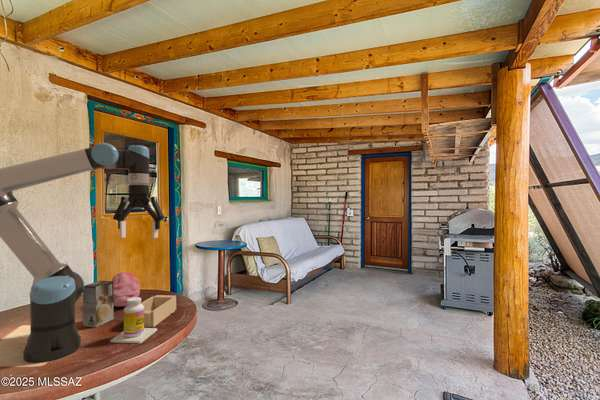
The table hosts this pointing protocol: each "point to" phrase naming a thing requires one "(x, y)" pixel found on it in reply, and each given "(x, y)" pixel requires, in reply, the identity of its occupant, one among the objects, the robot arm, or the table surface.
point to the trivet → (137, 339)
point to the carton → (158, 309)
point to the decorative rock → (125, 288)
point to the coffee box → (98, 303)
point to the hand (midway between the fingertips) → (139, 237)
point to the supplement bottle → (133, 317)
